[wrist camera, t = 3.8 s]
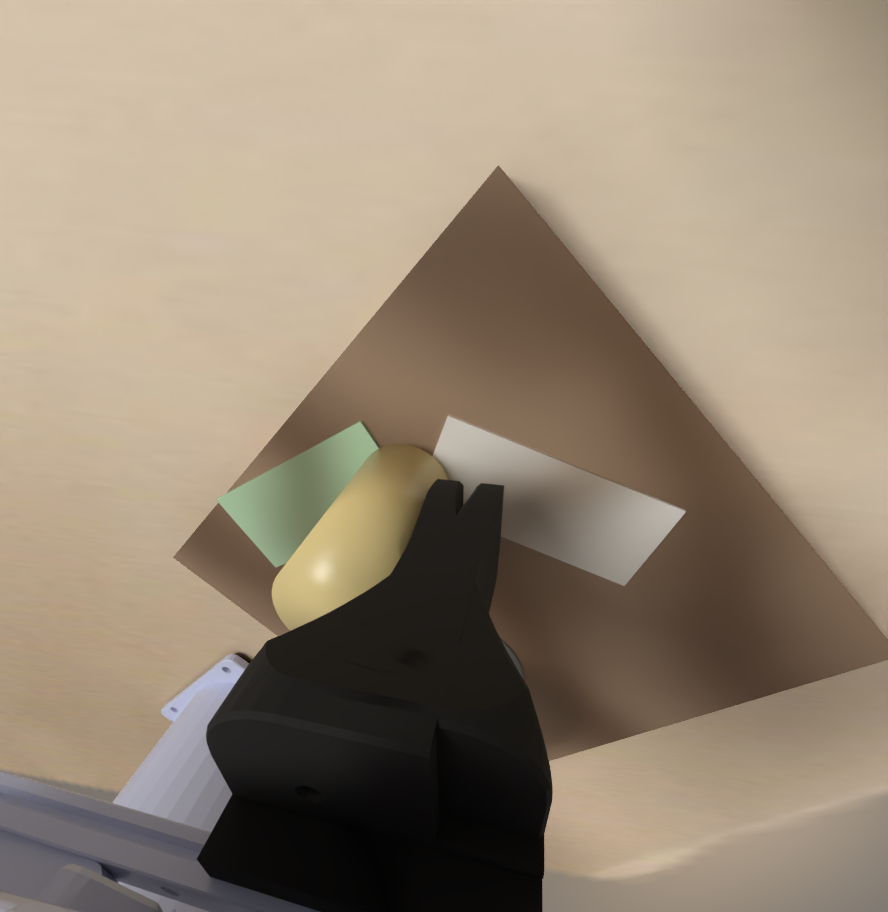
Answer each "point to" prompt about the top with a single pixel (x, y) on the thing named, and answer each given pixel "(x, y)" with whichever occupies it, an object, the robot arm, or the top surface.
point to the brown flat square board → (556, 491)
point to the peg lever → (357, 535)
